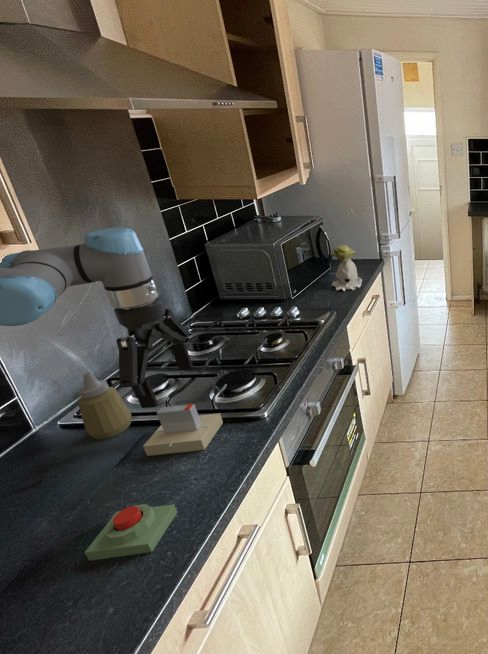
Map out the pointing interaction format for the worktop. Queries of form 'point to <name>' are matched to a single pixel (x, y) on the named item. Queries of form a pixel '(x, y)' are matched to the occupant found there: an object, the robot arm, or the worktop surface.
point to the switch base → (184, 437)
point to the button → (127, 518)
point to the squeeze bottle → (102, 409)
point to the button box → (132, 534)
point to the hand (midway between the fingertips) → (169, 386)
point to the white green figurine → (346, 269)
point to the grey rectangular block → (179, 418)
